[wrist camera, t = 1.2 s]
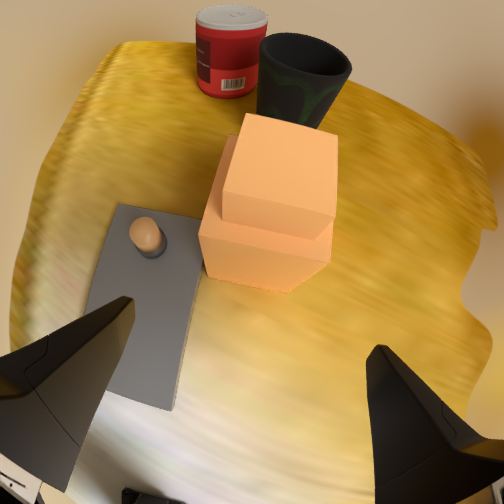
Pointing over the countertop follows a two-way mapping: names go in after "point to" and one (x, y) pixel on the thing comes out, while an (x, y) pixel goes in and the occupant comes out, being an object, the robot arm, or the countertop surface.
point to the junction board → (150, 297)
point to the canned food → (229, 49)
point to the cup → (299, 78)
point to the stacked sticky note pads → (271, 205)
